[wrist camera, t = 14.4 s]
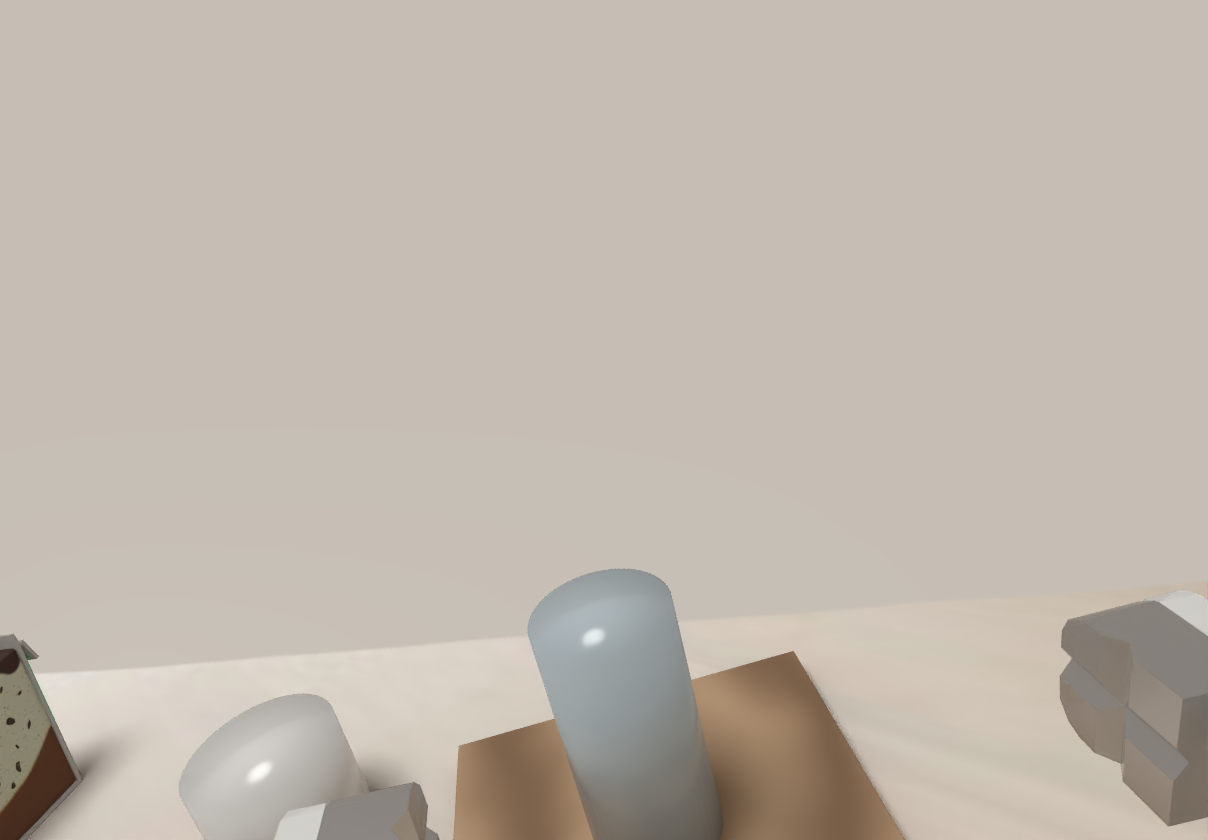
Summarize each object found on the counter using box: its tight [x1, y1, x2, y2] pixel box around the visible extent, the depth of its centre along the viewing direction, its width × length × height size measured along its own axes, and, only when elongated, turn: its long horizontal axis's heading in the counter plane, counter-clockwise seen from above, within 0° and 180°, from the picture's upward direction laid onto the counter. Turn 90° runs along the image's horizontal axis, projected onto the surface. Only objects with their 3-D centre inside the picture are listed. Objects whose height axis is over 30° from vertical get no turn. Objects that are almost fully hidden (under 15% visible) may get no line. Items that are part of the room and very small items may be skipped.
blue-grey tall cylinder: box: [528, 569, 723, 840], centre depth 31 cm, size 6×6×11 cm
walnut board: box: [453, 651, 905, 840], centre depth 33 cm, size 18×16×1 cm
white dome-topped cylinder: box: [179, 694, 370, 840], centre depth 37 cm, size 7×7×6 cm
